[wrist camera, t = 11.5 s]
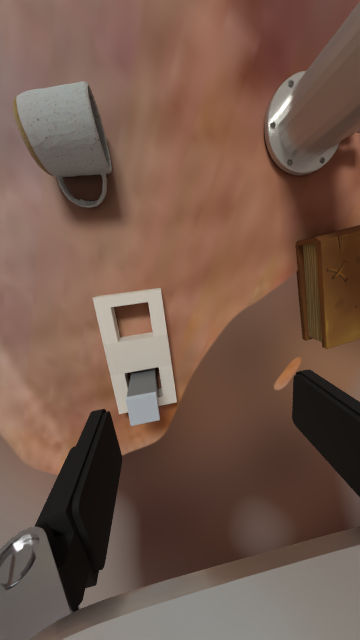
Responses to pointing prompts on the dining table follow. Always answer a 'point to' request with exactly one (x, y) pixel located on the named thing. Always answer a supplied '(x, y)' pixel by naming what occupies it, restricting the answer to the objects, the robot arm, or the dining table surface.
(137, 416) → the plug
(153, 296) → the jack panel
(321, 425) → the robot arm
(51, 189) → the dining table surface
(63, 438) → the dining table surface
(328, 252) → the diary
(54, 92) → the ceramic mug
